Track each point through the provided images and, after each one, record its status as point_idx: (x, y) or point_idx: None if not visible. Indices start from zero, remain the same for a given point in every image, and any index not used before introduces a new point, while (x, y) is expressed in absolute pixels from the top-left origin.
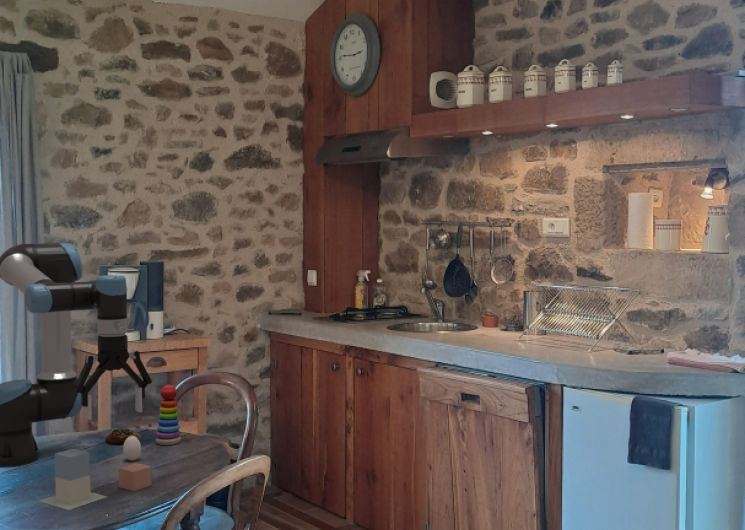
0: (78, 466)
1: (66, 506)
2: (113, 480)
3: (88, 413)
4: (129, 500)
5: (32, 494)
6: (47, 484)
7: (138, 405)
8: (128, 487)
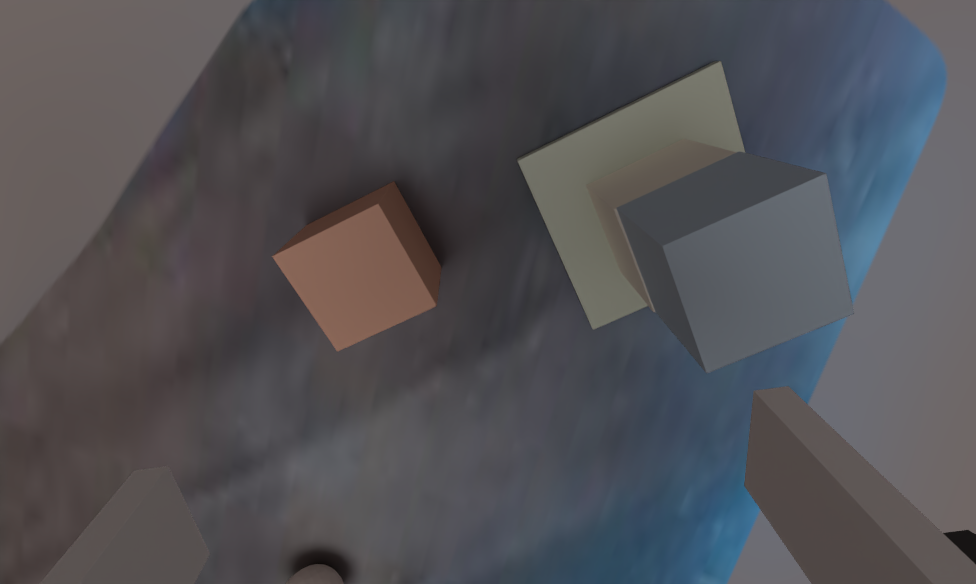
0: (714, 189)
1: (709, 116)
2: (433, 391)
3: (835, 443)
4: (432, 99)
5: (737, 367)
6: (655, 447)
7: (130, 556)
8: (409, 220)
